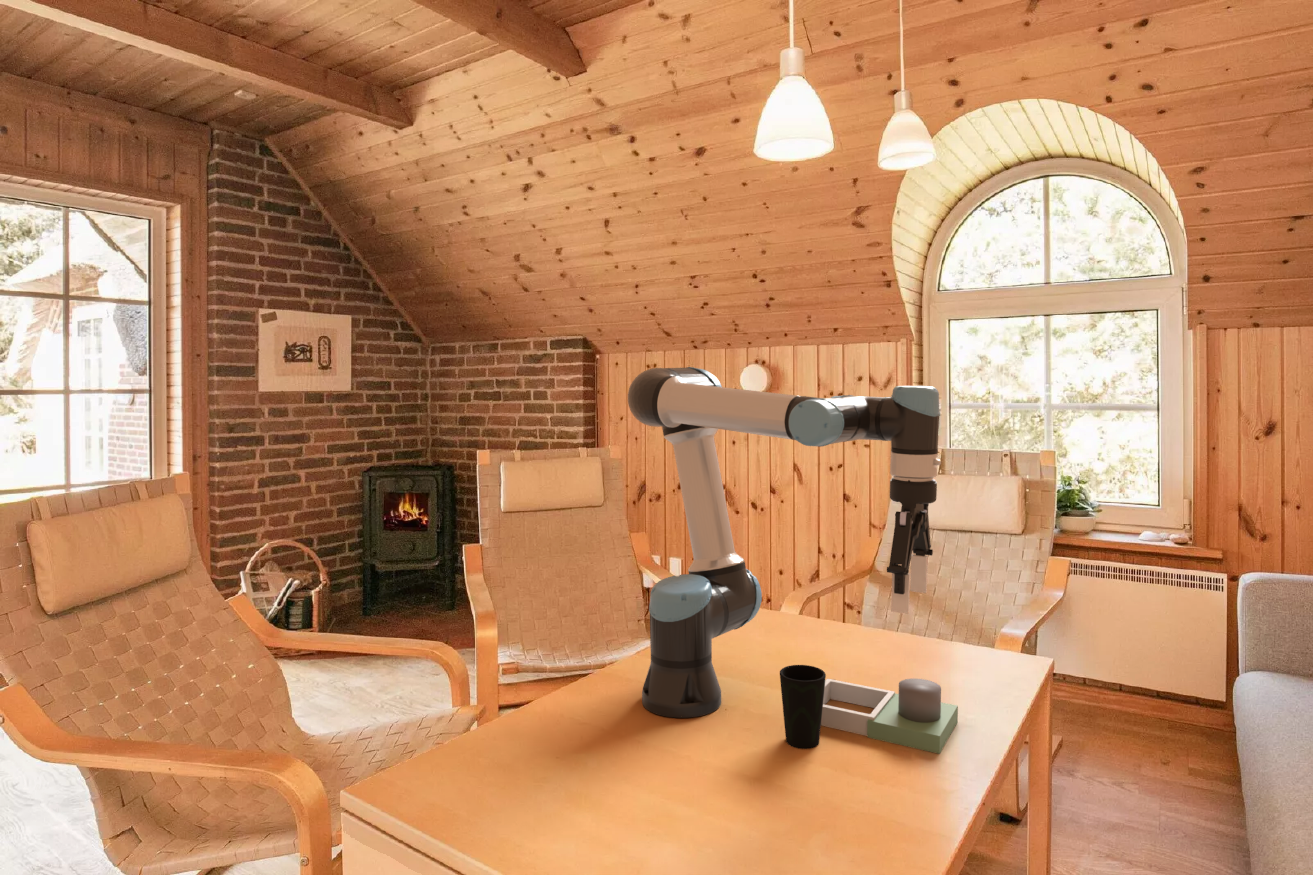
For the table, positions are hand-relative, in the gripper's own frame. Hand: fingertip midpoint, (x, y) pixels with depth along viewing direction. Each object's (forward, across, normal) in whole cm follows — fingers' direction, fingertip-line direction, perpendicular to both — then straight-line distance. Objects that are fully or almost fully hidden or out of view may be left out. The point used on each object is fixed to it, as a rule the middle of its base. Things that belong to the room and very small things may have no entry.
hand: (909, 601), depth 138 cm
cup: (+24, -11, +15) cm, 30 cm away
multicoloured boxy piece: (+24, +3, +5) cm, 24 cm away
